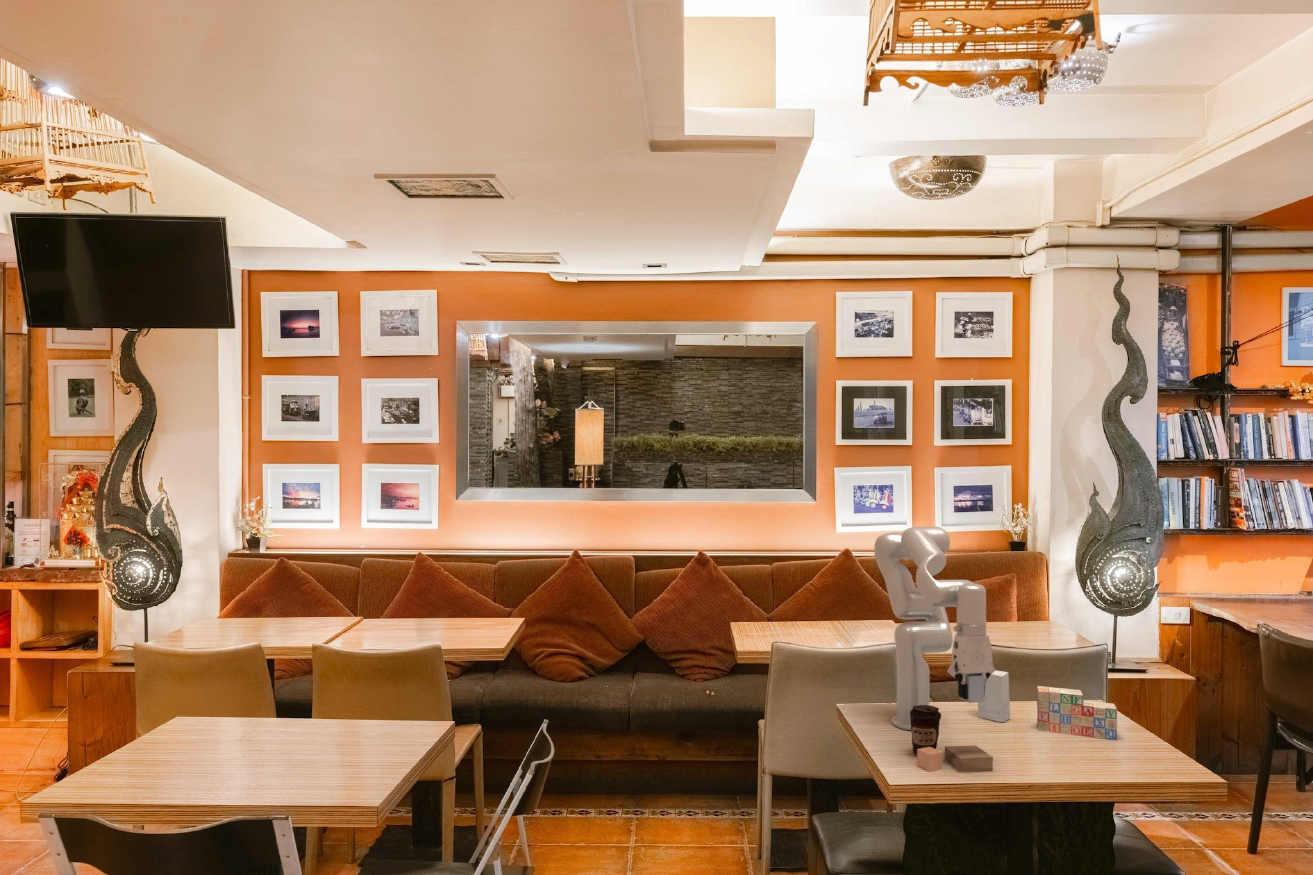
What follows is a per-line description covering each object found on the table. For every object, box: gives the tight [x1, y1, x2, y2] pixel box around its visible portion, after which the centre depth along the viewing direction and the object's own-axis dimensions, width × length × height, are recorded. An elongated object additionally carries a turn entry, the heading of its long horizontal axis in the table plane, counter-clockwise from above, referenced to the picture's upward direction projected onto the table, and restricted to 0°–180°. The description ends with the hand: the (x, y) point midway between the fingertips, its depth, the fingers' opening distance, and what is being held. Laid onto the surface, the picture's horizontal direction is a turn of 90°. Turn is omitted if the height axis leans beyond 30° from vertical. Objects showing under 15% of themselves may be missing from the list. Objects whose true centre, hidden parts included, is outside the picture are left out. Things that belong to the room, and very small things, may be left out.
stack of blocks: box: [1036, 685, 1118, 741], centre depth 256 cm, size 21×6×12 cm, turn 68°
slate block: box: [958, 674, 984, 704], centre depth 229 cm, size 4×4×7 cm
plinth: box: [944, 744, 994, 773], centre depth 227 cm, size 9×9×4 cm
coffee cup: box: [910, 704, 942, 756], centre depth 235 cm, size 9×8×13 cm
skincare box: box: [977, 669, 1011, 723], centre depth 268 cm, size 8×6×15 cm
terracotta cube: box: [916, 747, 943, 772], centre depth 226 cm, size 4×4×4 cm
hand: (971, 696), depth 229 cm, fingers closed on slate block, 4 cm apart
